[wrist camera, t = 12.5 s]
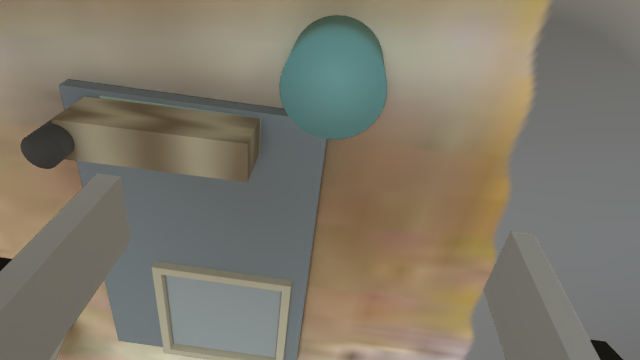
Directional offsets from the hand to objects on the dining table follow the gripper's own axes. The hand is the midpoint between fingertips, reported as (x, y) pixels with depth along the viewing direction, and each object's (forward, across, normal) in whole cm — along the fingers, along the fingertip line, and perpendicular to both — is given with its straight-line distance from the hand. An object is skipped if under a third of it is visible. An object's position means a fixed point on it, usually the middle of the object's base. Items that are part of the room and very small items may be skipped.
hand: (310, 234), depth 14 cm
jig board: (+19, -10, -19) cm, 28 cm away
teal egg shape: (+19, 0, 0) cm, 19 cm away
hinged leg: (+17, -12, -6) cm, 22 cm away
